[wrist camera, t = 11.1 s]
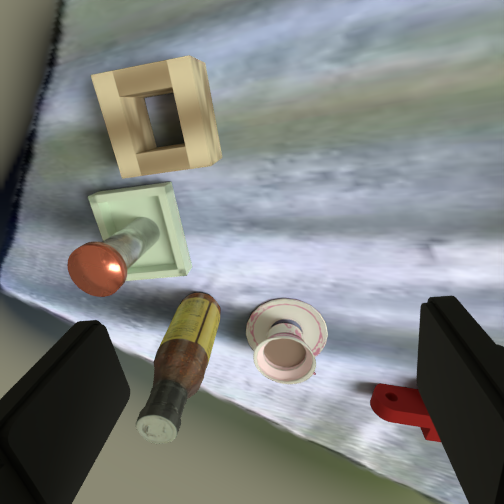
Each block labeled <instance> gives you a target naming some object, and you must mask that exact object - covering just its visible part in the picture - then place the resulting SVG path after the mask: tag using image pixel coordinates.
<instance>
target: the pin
mask: <svg viewBox="0 0 504 504" xmlns="http://www.w3.org/2000/svg"><path fill="white" fill-rule="evenodd" d="M159 237H160V231H159V228H158V226H157V224H156V223H155V222H154V221H153V220H151V219H149V218H146V217H140V218H137V219H136V220H134V221H133V222H131V223H130V224H128V225H127V226H125V227H124V228H122V229H121V230H119V231H118V232H116V233H115V234H113V235H112V236H110V237H109V238H107V239H106V240H104V241H103V242H88V243H86V244H84V245H82V246H80V247H79V248H77V249H76V250H74V251H73V252H72V253H71V255H70V257H69V259H68V272H69V275H70V277H71V279H72V280H73V282H74V283H75V284H76V285H77V286H78V287H79V288H80V289H81V290H83V291H84V292H86V293H88V294H90V295H93V296H98V297H105V296H109V295H112V294H113V293H115V292H116V291H117V290H118V289H119V288H120V287H121V286H122V285H123V284H124V283H125V281H126V278H127V270H128V269H129V268H130V267H131V266H132V265H133V264H134V263H135V262H136V261H137V260H138V259H139V258H140V257H141V256H142V255H144V254H145V253H146V252H147V251H148V250H149V249H150V248H151V247H152V246H153V245H154V244H155V243H156V242H157V241H158V240H159Z"/></svg>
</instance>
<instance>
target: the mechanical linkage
mask: <svg viewBox="0 0 504 504" xmlns="http://www.w3.org/2000/svg"><path fill="white" fill-rule="evenodd" d="M370 405H371V408H372V410H373V411H374V412H375V413H376V414H377V415H378V416H379V417H380V418H382V419H384V420H386V421H388V422H393V423H399V424H405V425H411V426H418V427H421V430H422V432H423V435H424V437H425V440H430V441H436V442H441V440H440V438H439V436H438V433H437V431H436V429H435V427H434V424H433V422H432V420H431V418H430V415H429V413H428V411H427V409H426V407H425V404H424V402H423V400H422V398H421V395H420V393H419V390H418V389H413V388H407V387H400V386H394V385H387V384H378V385H377V386H376V387H375V389H374V391H373V394H372V397H371V400H370Z"/></svg>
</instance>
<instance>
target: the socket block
mask: <svg viewBox="0 0 504 504" xmlns="http://www.w3.org/2000/svg"><path fill="white" fill-rule="evenodd" d="M91 78H92V81H93V84H94V88H95V91H96V94H97V97H98V101H99V104H100V107H101V111H102V114H103V117H104V120H105V124H106V127H107V130H108V134H109V137H110V140H111V143H112V147H113V150H114V153H115V157H116V160H117V163H118V166H119V170H120V173H121V176H122V178H129V177H136V176H144V175H151V174H158V173H165V172H172V171H179V170H186V169H193V168H200V167H207V166H212V165H213V164H214V163H216V162H217V161H218V160H220V159H221V158H222V153H221V148H220V142H219V137H218V131H217V126H216V120H215V115H214V109H213V104H212V98H211V93H210V87H209V82H208V76H207V71H206V65H205V63H204V62H202V61H200V60H198V59H196V58H194V57H192V56H190V55H189V56H184V57H179V58H174V59H169V60H164V61H159V62H154V63H149V64H144V65H139V66H134V67H129V68H124V69H119V70H114V71H109V72H104V73H99V74H94V75H91ZM169 93H174V96H175V101H176V105H177V110H178V114H179V119H180V123H181V128H182V133H183V137H184V142H185V143H183V144H177V145H170V146H164V147H156V143H155V139H154V135H153V131H152V127H151V123H150V119H149V115H148V111H147V107H146V103H145V99H144V98H147V97H152V96H158V95H163V94H169Z"/></svg>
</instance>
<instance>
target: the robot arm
mask: <svg viewBox="0 0 504 504" xmlns="http://www.w3.org/2000/svg"><path fill="white" fill-rule="evenodd" d="M417 386H418V390H419V393H420V395H421V398H422V400H423V402H424V404H425V407H426V409H427V411H428V413H429V415H430V418H431V420H432V422H433V424H434V427H435V429H436V431H437V433H438V436H439V438H440V440H441V442H442V444H443V447H444V449H445V451H446V453H447V456H448V458H449V460H450V462H451V464H452V467H453V469H454V471H455V473H456V476H457V478H458V480H459V482H460V485H461V487H462V489H463V491H464V493H465V496H466V498H467V500H468V502H469V504H504V347H503V346H501V345H496V344H495V343H494V341H493V340H492V339H491V338H490V337H489V336H488V334H487V333H486V332H485V331H484V330H483V329H482V327H481V326H480V325H479V324H478V323H477V322H476V321H475V319H474V318H473V317H472V316H471V315H470V314H469V312H468V311H467V310H466V309H465V308H464V307H463V305H462V304H461V303H460V302H459V301H458V300H457V298H455V297H454V296H441V297H430V298H429V299H428V302H427V303H422V305H421V310H420V328H419V345H418V362H417ZM129 397H130V388H129V385H128V382H127V380H126V378H125V375H124V372H123V370H122V367H121V365H120V362H119V360H118V357H117V355H116V352H115V349H114V347H113V344H112V342H111V339H110V337H109V334H108V331H107V329H106V327H105V326H104V325H102V324H101V323H100V322H99V321H97V320H90V321H79V322H77V323H75V324H74V325H73V326H72V327H71V328H70V329H69V330H68V332H66V333H65V334H64V335H63V336H62V337H61V339H60V340H59V341H58V342H57V343H56V344H55V345H54V346H53V347H52V348H51V349H50V350H49V351H48V352H47V353H46V354H45V355H44V356H43V357H42V358H41V359H40V360H39V361H38V362H37V363H36V364H35V365H34V366H33V367H32V368H31V369H30V370H29V371H28V372H27V373H26V374H25V375H24V376H23V377H22V378H21V379H20V380H19V381H18V382H17V383H16V384H15V385H14V386H13V387H12V388H11V389H10V390H9V391H8V392H7V393H6V394H5V395H4V396H3V397H2V398H1V400H0V504H72V502H73V500H74V499H75V497H76V495H77V493H78V491H79V489H80V487H81V486H82V484H83V482H84V480H85V479H86V477H87V475H88V473H89V471H90V469H91V468H92V466H93V464H94V462H95V460H96V458H97V457H98V455H99V453H100V451H101V449H102V448H103V446H104V444H105V442H106V440H107V438H108V437H109V435H110V433H111V431H112V429H113V428H114V426H115V424H116V422H117V420H118V418H119V417H120V415H121V413H122V411H123V409H124V407H125V406H126V404H127V402H128V400H129Z"/></svg>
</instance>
